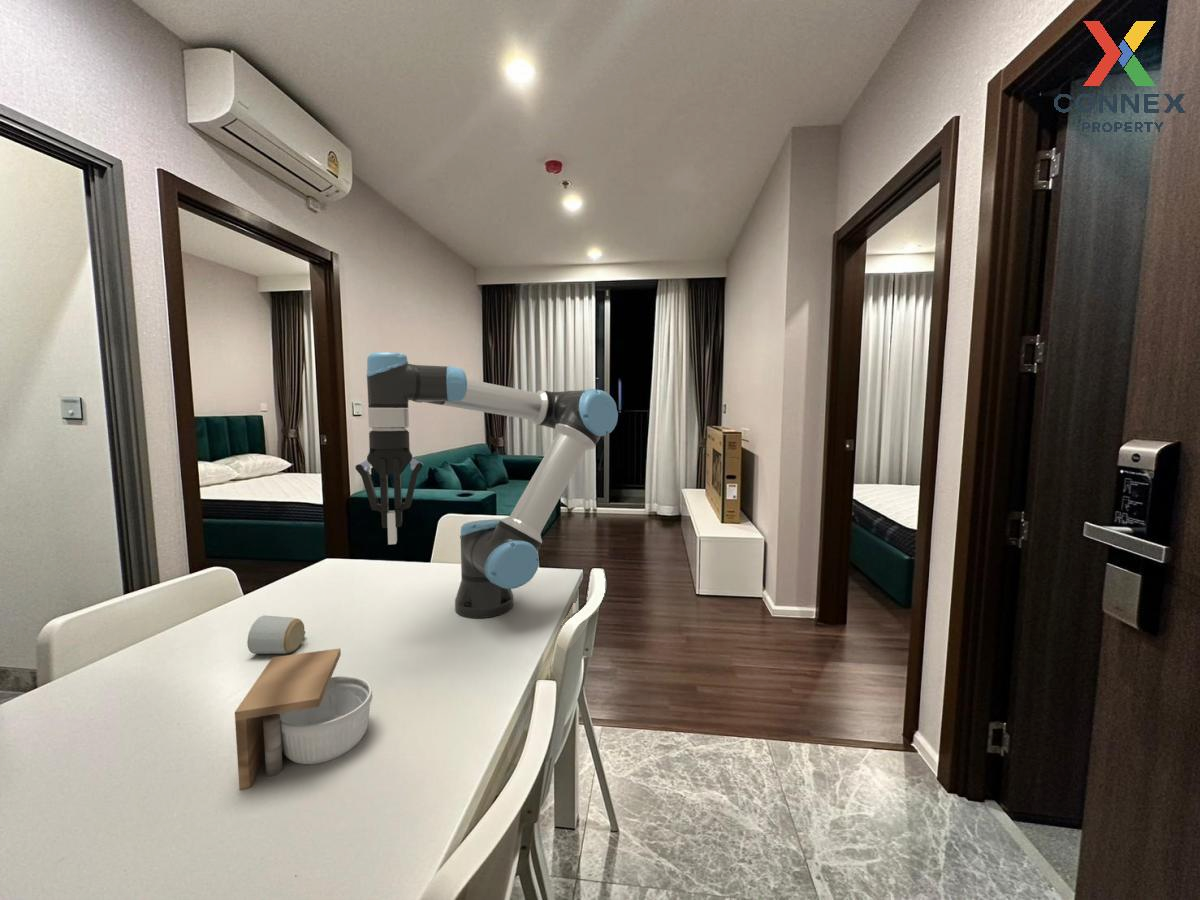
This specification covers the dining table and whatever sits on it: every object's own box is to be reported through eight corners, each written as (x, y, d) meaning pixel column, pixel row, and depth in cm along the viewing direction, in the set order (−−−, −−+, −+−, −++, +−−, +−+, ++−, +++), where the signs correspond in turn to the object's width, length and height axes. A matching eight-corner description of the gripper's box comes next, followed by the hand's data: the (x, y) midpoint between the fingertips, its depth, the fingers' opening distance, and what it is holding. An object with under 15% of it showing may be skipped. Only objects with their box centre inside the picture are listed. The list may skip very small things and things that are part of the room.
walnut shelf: (342, 710, 82) (340, 648, 82) (322, 772, 68) (318, 698, 67) (275, 721, 79) (272, 657, 78) (239, 789, 65) (234, 712, 64)
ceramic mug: (287, 660, 99) (286, 624, 98) (246, 660, 98) (245, 624, 98) (315, 636, 109) (314, 604, 109) (278, 637, 109) (277, 604, 109)
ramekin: (391, 723, 79) (390, 683, 79) (323, 782, 67) (321, 735, 66) (330, 707, 83) (328, 669, 83) (255, 759, 71) (252, 715, 70)
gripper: (423, 428, 103) (426, 535, 105) (357, 428, 99) (361, 540, 101) (422, 430, 96) (425, 544, 98) (350, 430, 92) (354, 550, 94)
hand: (392, 542), depth 99 cm, fingers closed
